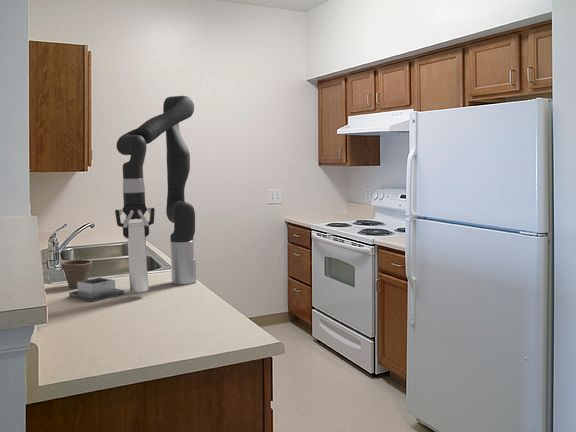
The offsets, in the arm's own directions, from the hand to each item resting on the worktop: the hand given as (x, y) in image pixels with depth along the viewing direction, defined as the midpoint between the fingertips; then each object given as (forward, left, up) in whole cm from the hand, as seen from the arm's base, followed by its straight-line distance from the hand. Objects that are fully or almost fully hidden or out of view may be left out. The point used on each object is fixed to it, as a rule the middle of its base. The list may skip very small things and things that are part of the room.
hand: (136, 236), depth 195 cm
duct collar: (+14, -10, -22) cm, 28 cm away
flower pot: (+20, -29, -23) cm, 42 cm away
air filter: (0, 0, -20) cm, 20 cm away
